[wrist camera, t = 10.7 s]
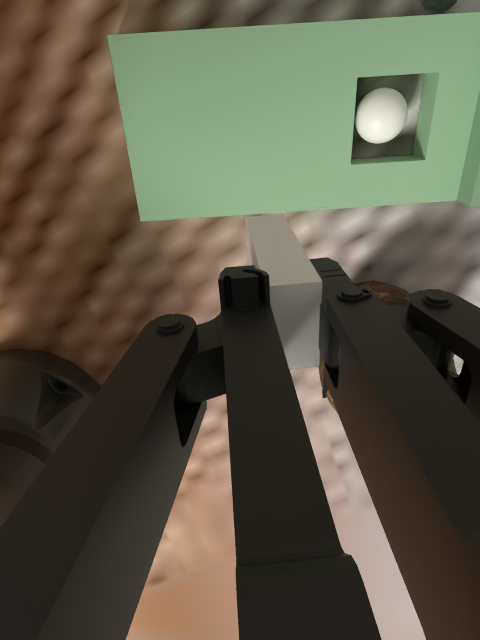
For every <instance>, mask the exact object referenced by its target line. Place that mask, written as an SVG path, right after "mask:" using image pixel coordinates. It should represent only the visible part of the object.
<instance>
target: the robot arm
mask: <svg viewBox="0 0 480 640" xmlns="http://www.w3.org/2000/svg"><path fill="white" fill-rule="evenodd" d="M245 221H246V238H247V254H248V266H238V267H227V268H225V269H224V270H223V271H222V272H221V273H220V277H219V279H218V284H219V293H220V303H221V312H220V314H219V315H218V316H217V317H216V318H214V319H212V320H211V321H209V322H206V323H203V324H199V325H196V322H195V321H194V319H193V318H191V317H189V316H187V315H181V314H167V315H165V316H164V315H163V316H159V317H158V318H156V319H154V320H152V321H150V322H149V323H148V324H147V325H146V326H145V327H144V328H143V330H142V331H141V332H140V334H139V335H138V336H137V338H136V339H135V341H134V342H133V343H132V345H131V346H130V348H129V349H128V350H127V352H126V353H125V355H124V356H123V357H122V359H121V360H120V362H119V363H118V364H117V366H116V367H115V369H114V370H113V371H112V373H111V374H110V376H109V377H108V378H107V380H106V381H105V383H104V384H103V385H102V387H101V388H100V387H99V386H98V385H97V383H96V382H95V381H94V380H93V379H92V378H91V377H90V376H89V375H88V374H86V373H85V372H84V371H83V370H81V369H80V368H78V367H77V366H75V365H73V364H72V363H70V362H68V361H66V360H63V359H61V358H59V357H56V356H53V355H50V354H46V353H42V352H36V351H27V350H13V351H5V352H0V640H126V637H127V634H128V631H129V628H130V625H131V623H132V620H133V617H134V614H135V611H136V608H137V605H138V603H139V599H140V597H141V594H142V591H143V588H144V586H145V583H146V580H147V577H148V574H149V571H150V568H151V566H152V563H153V560H154V557H155V554H156V551H157V548H158V546H159V543H160V540H161V537H162V534H163V531H164V528H165V526H166V523H167V520H168V517H169V514H170V511H171V508H172V506H173V503H174V500H175V497H176V494H177V491H178V488H179V486H180V483H181V480H182V477H183V474H184V471H185V468H186V466H187V463H188V460H189V457H190V454H191V451H192V448H193V446H194V443H195V440H196V437H197V434H198V431H199V429H200V426H201V423H202V420H203V417H204V414H205V411H206V409H207V400H208V399H211V398H214V397H217V396H220V395H223V394H226V398H227V414H228V430H229V447H230V463H231V479H232V496H233V512H234V528H235V545H236V590H237V608H238V626H239V640H381V637H380V633H379V630H378V627H377V624H376V621H375V618H374V615H373V612H372V608H371V605H370V602H369V599H368V595H367V592H366V589H365V586H364V583H363V580H362V578H361V575H360V572H359V570H358V567H357V564H356V563H355V561H354V559H353V558H352V556H351V555H348V554H345V553H344V551H343V549H342V547H341V545H340V542H339V539H338V535H337V532H336V528H335V525H334V521H333V518H332V514H331V511H330V507H329V504H328V501H327V497H326V494H325V490H324V487H323V483H322V480H321V477H320V473H319V470H318V466H317V463H316V459H315V456H314V453H313V449H312V446H311V442H310V439H309V435H308V432H307V428H306V425H305V422H304V418H303V415H302V411H301V408H300V404H299V401H298V398H297V394H296V391H295V387H294V384H293V380H292V377H291V374H290V370H289V369H300V368H311V367H319V361H320V352H321V355H322V357H323V359H324V367H323V390H322V394H323V398H327V391H328V390H329V392H330V394H331V397H332V399H333V402H334V404H335V407H336V409H337V412H338V415H339V417H340V420H341V422H342V425H343V427H344V430H345V432H346V435H347V437H348V440H349V442H350V445H351V448H352V450H353V453H354V455H355V458H356V460H357V463H358V465H359V468H360V470H361V473H362V476H363V478H364V481H365V483H366V486H367V488H368V491H369V493H370V496H371V498H372V501H373V504H374V506H375V509H376V511H377V514H378V516H379V519H380V521H381V524H382V526H383V529H384V531H385V533H386V537H387V539H388V542H389V544H390V547H391V549H392V552H393V554H394V557H395V559H396V562H397V564H398V567H399V570H400V572H401V574H402V577H403V580H404V582H405V585H406V587H407V590H408V592H409V595H410V597H411V600H412V603H413V605H414V608H415V610H416V613H417V615H418V618H419V620H420V623H421V626H422V628H423V631H424V634H425V637H426V640H480V308H479V307H477V306H475V305H473V304H471V303H470V302H468V301H466V300H464V299H462V298H461V297H459V296H456V295H454V294H452V293H449V292H444V291H442V290H437V289H435V290H433V289H427V290H422V291H417V292H415V293H412V294H411V295H410V297H409V300H408V306H394V305H385V304H383V302H382V301H381V300H380V299H379V297H378V296H377V295H376V294H375V293H374V292H372V291H371V290H369V289H367V288H364V287H358V286H355V285H354V284H353V283H352V281H351V280H350V278H349V277H348V276H346V273H345V272H344V270H342V268H341V266H340V265H339V264H338V262H336V261H334V260H332V259H330V258H317V259H309V258H308V256H307V254H306V253H305V251H304V249H303V248H302V246H301V244H300V243H299V241H298V239H297V237H296V236H295V234H294V232H293V231H292V229H291V227H290V225H289V224H288V222H287V220H286V219H285V217H284V215H283V214H276V215H264V216H252V217H245ZM454 354H455V355H457V356H458V357H460V358H461V359H463V360H464V362H463V366H462V370H461V373H460V375H458V374H456V373H455V372H453V371H452V370H451V365H452V361H453V357H454Z"/></svg>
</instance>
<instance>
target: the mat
mask: <svg viewBox="0 0 480 640" xmlns="http://www.w3.org/2000/svg"><path fill="white" fill-rule="evenodd" d="M107 38H108V43H109V49H110V54H111V60H112V66H113V71H114V77H115V82H116V88H117V93H118V99H119V104H120V110H121V116H122V121H123V127H124V132H125V138H126V143H127V149H128V154H129V160H130V165H131V171H132V177H133V182H134V188H135V193H136V199H137V204H138V210H139V215H140V221H141V222H142V221H157V220H172V219H187V218H203V217H218V216H233V215H248V214H263V213H278V212H293V211H308V210H324V209H339V208H354V207H369V206H384V205H399V204H414V203H429V202H445V201H458V202H460V203H462V204H464V205H466V206H468V207H480V12H467V13H452V14H436V15H420V16H404V17H388V18H372V19H356V20H340V21H324V22H308V23H292V24H276V25H260V26H244V27H228V28H212V29H196V30H180V31H164V32H148V33H132V34H116V35H107ZM421 73H424V80H423V87H422V94H421V100H420V107H419V114H418V121H417V128H416V134H415V141H414V148H413V155H406V156H390V157H375V158H360V159H351V154H352V141H353V128H354V115H355V102H356V89H357V78H358V77H374V76H389V75H405V74H421Z"/></svg>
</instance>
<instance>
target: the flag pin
mask: <svg viewBox="0 0 480 640" xmlns="http://www.w3.org/2000/svg"><path fill="white" fill-rule="evenodd" d="M456 1H457V0H422V2H423V5H424V7H425V8H426V9H427V10H428V11H429V12H432V13H439V12H443V11H446V10H448V9H449V8H451V7H452V6H453V5H454V4H455V3H456Z"/></svg>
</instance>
